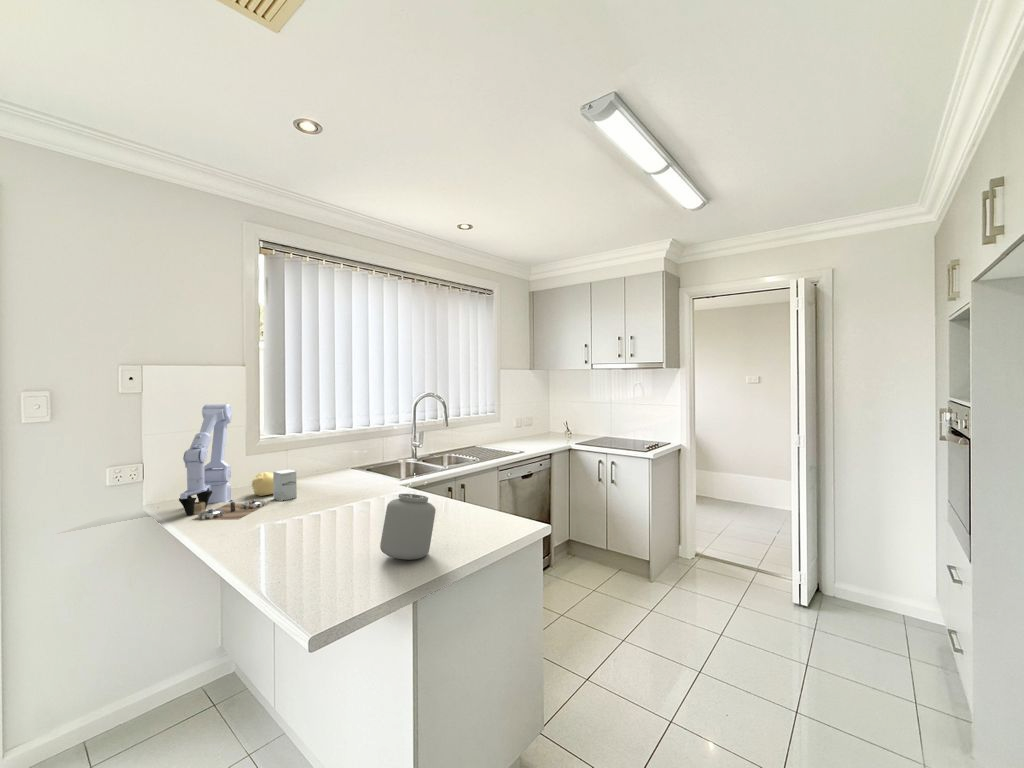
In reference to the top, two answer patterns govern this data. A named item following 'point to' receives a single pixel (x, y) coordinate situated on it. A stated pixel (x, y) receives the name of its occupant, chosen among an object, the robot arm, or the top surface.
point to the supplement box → (284, 485)
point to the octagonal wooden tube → (199, 507)
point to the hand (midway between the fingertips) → (196, 512)
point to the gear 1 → (210, 514)
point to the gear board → (233, 512)
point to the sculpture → (263, 484)
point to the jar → (408, 527)
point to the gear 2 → (253, 504)
